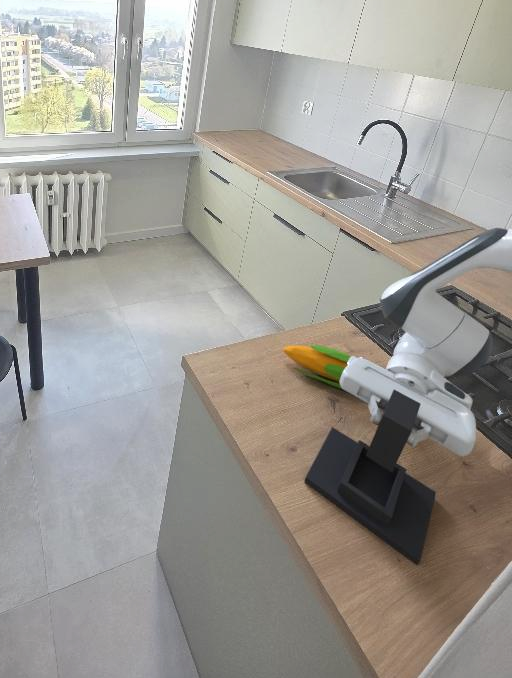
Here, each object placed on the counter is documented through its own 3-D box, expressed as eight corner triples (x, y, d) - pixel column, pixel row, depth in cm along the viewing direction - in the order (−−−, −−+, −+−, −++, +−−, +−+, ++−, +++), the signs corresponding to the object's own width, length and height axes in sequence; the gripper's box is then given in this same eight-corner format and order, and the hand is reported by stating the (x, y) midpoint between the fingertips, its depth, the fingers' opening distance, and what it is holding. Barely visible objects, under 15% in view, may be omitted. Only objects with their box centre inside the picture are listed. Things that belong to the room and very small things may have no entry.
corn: (381, 379, 89) (284, 345, 97) (371, 406, 92) (278, 371, 100) (379, 357, 95) (288, 327, 103) (369, 383, 98) (281, 352, 106)
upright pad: (402, 443, 73) (420, 403, 69) (392, 472, 68) (411, 431, 64) (377, 428, 75) (393, 389, 71) (365, 455, 71) (383, 415, 67)
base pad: (433, 497, 75) (440, 483, 73) (417, 565, 65) (425, 551, 64) (330, 431, 86) (335, 418, 84) (303, 482, 76) (308, 468, 75)
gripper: (356, 341, 83) (332, 381, 74) (484, 404, 71) (475, 461, 62) (348, 364, 86) (324, 405, 77) (470, 429, 73) (459, 488, 64)
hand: (392, 431), depth 69 cm, fingers closed on upright pad, 4 cm apart
